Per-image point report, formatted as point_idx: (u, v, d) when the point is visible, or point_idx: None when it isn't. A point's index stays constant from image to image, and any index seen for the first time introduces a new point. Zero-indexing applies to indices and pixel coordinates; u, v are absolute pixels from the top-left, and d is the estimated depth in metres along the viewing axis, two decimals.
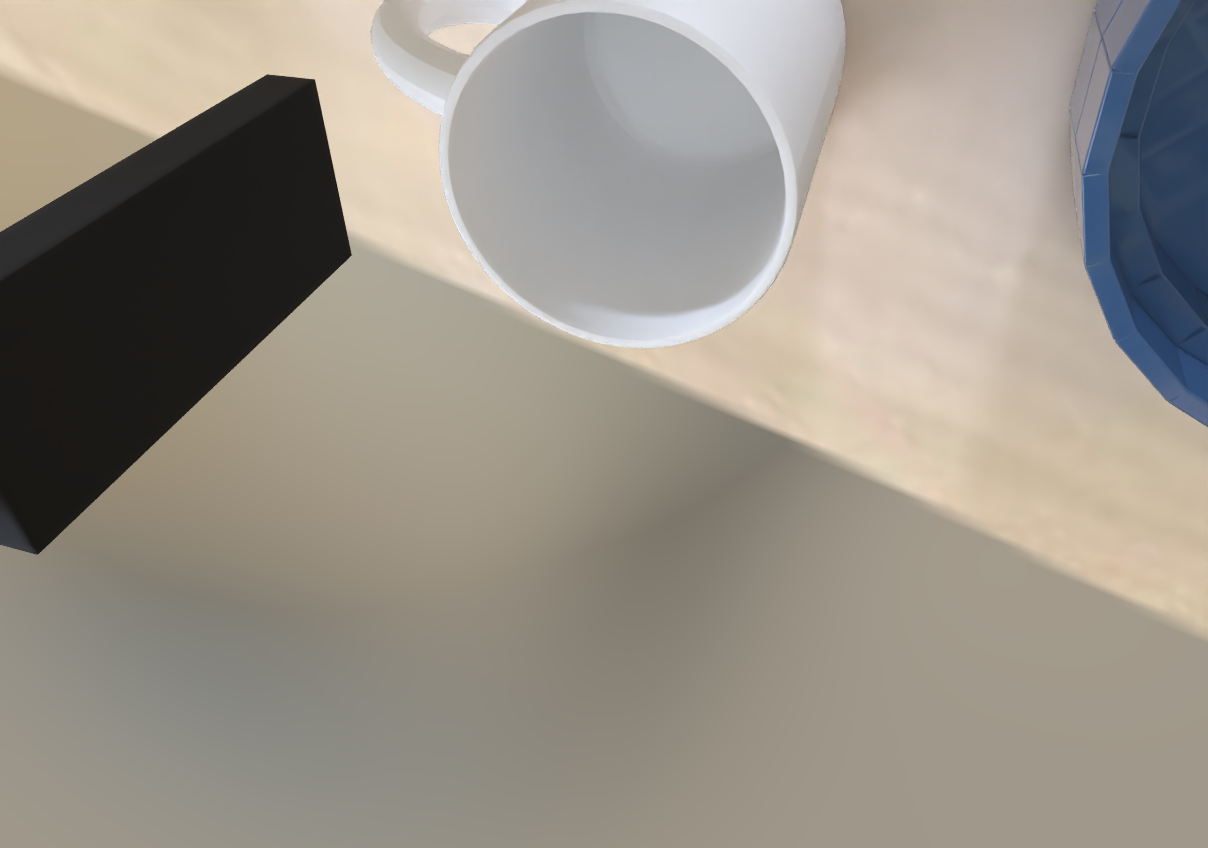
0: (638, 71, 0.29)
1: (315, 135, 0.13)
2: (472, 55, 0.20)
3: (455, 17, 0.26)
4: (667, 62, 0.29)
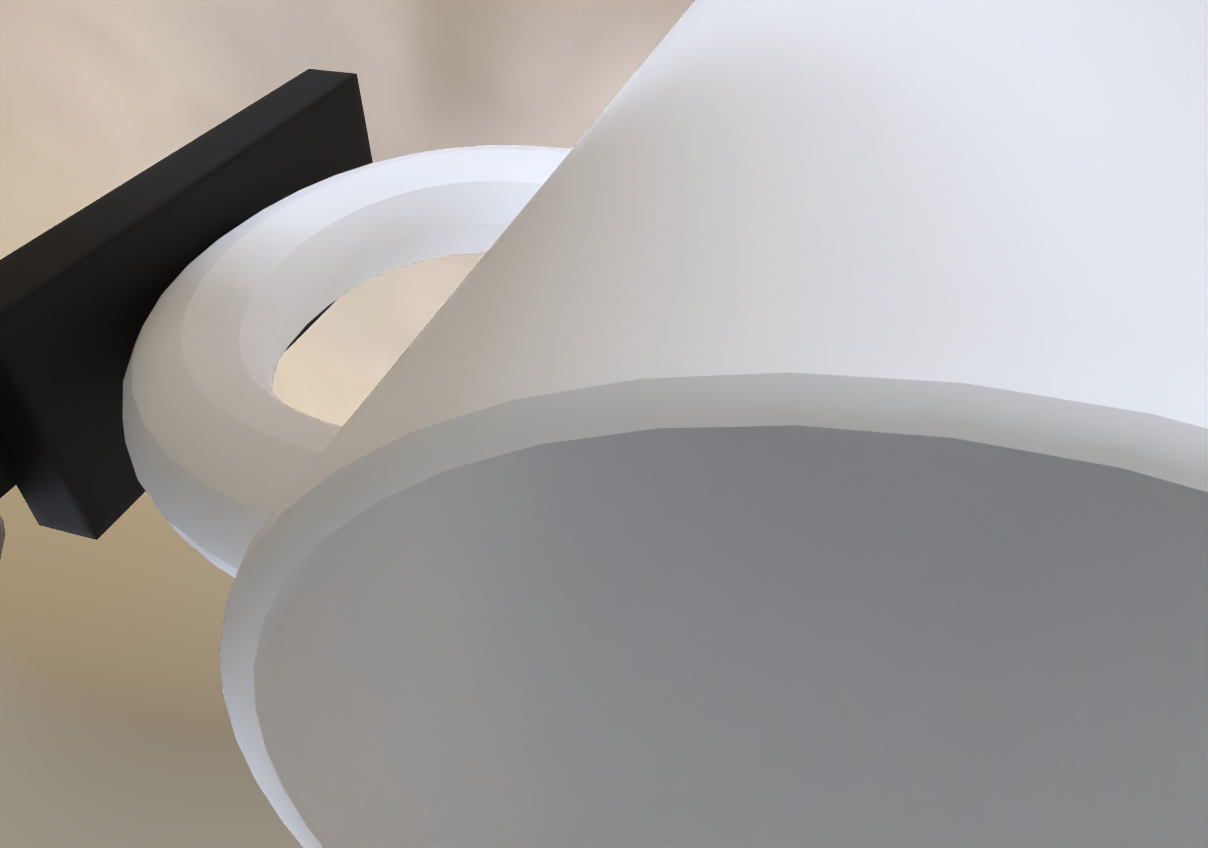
0: None
1: (356, 129, 0.13)
2: (242, 577, 0.05)
3: (371, 266, 0.11)
4: None
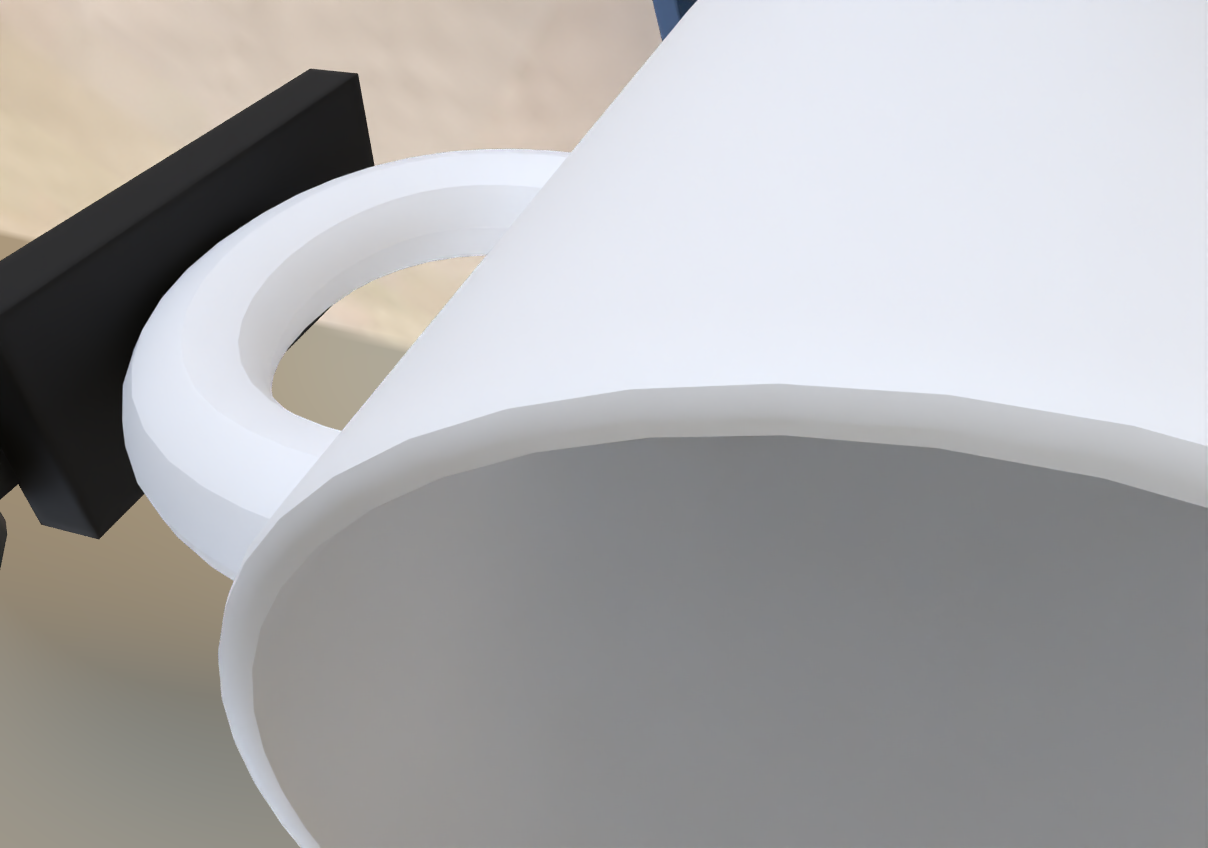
0: None
1: (356, 128, 0.13)
2: (240, 581, 0.05)
3: (370, 269, 0.11)
4: None
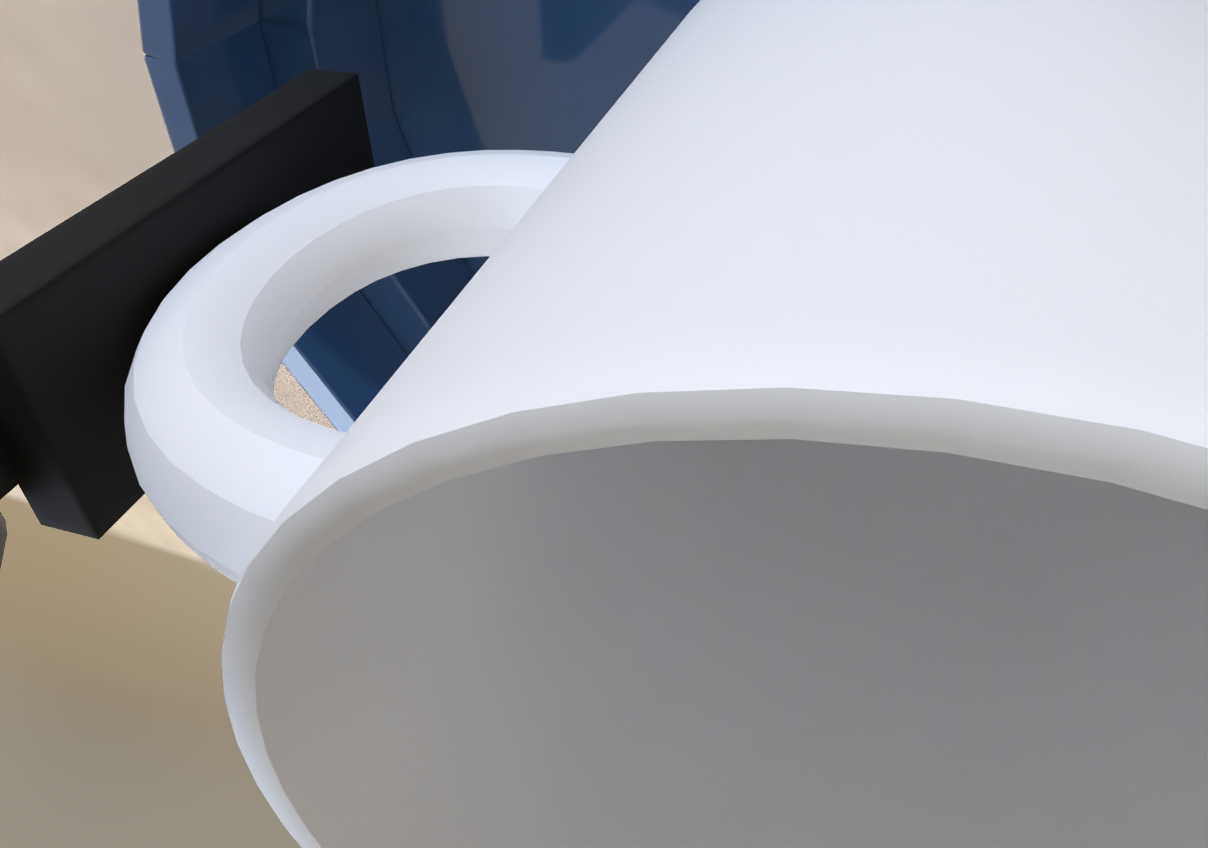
0: None
1: (357, 129, 0.13)
2: (244, 584, 0.05)
3: (372, 270, 0.11)
4: None
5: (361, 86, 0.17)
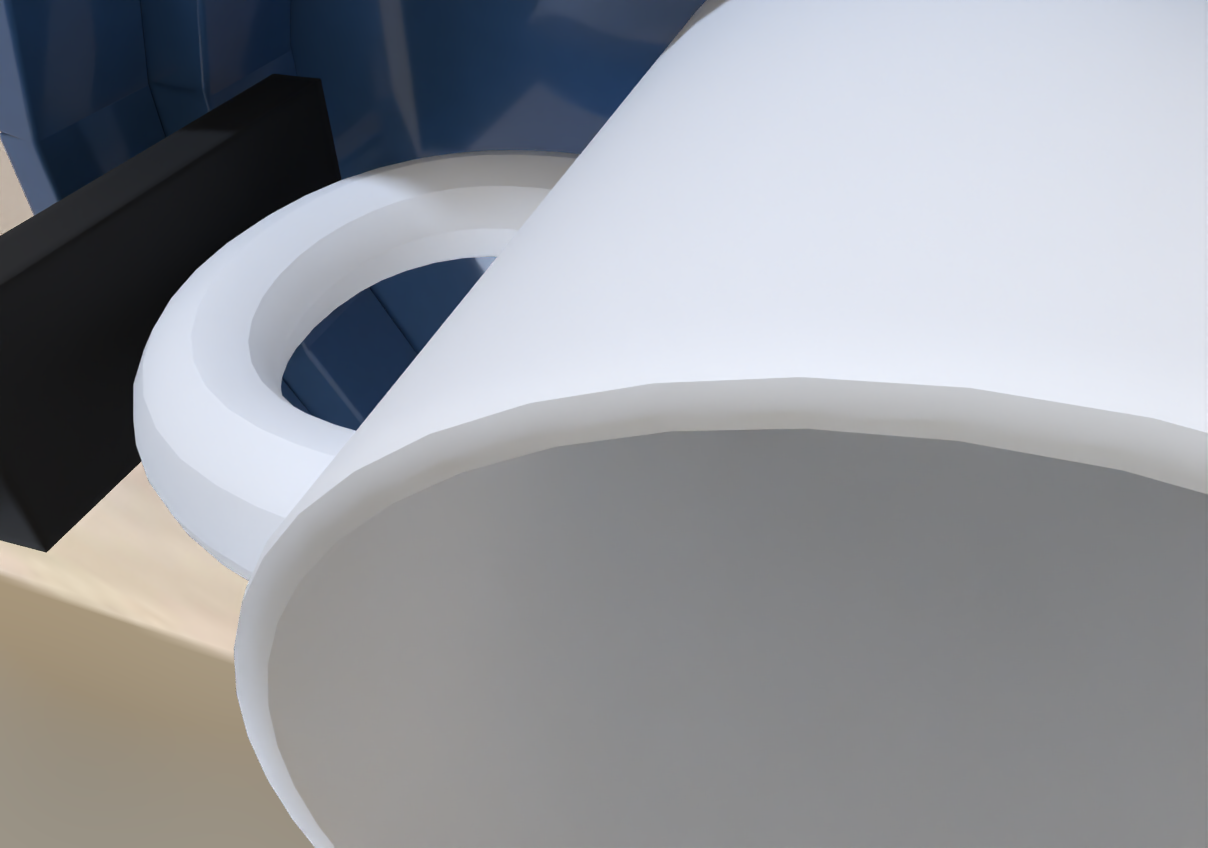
0: None
1: (321, 134, 0.13)
2: (258, 577, 0.05)
3: (377, 270, 0.11)
4: None
5: None
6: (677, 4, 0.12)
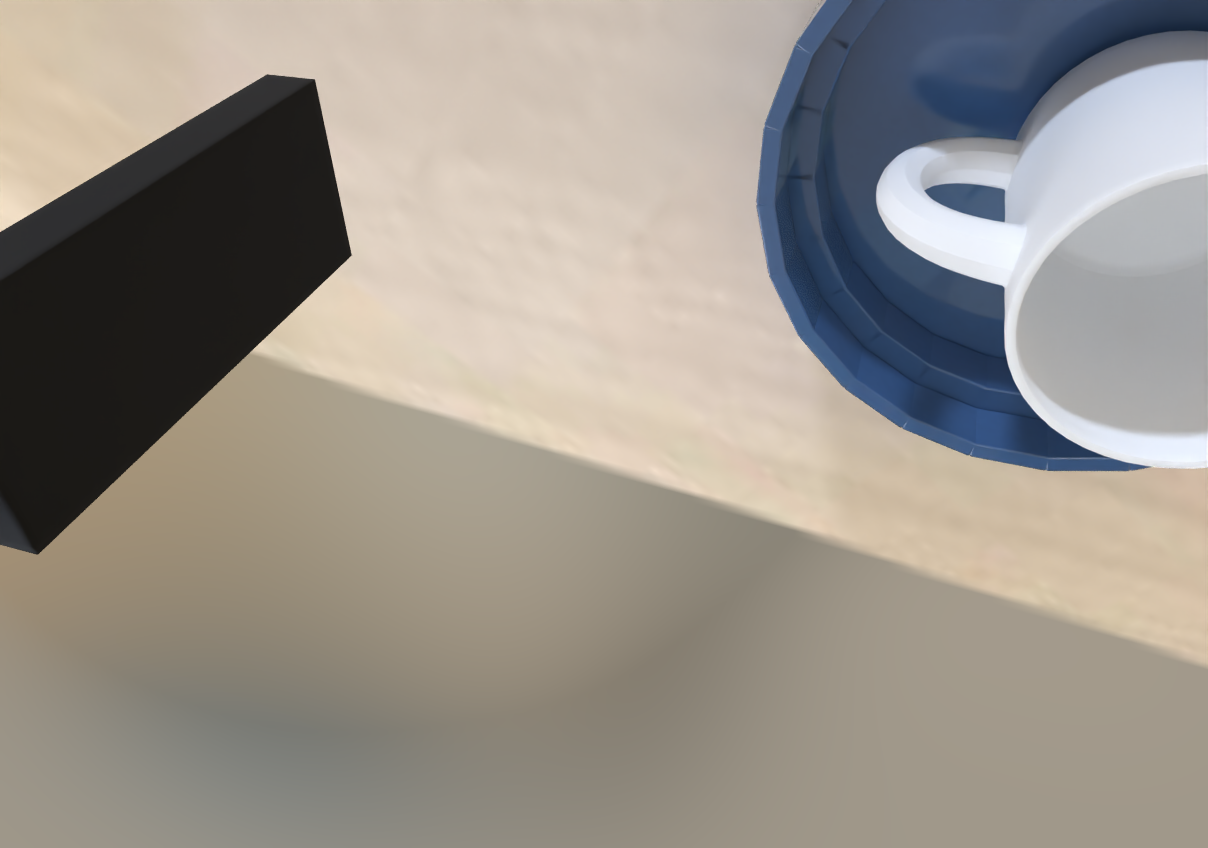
0: None
1: (315, 135, 0.13)
2: (1064, 227, 0.21)
3: (929, 184, 0.28)
4: None
5: (823, 139, 0.31)
6: (1041, 74, 0.29)
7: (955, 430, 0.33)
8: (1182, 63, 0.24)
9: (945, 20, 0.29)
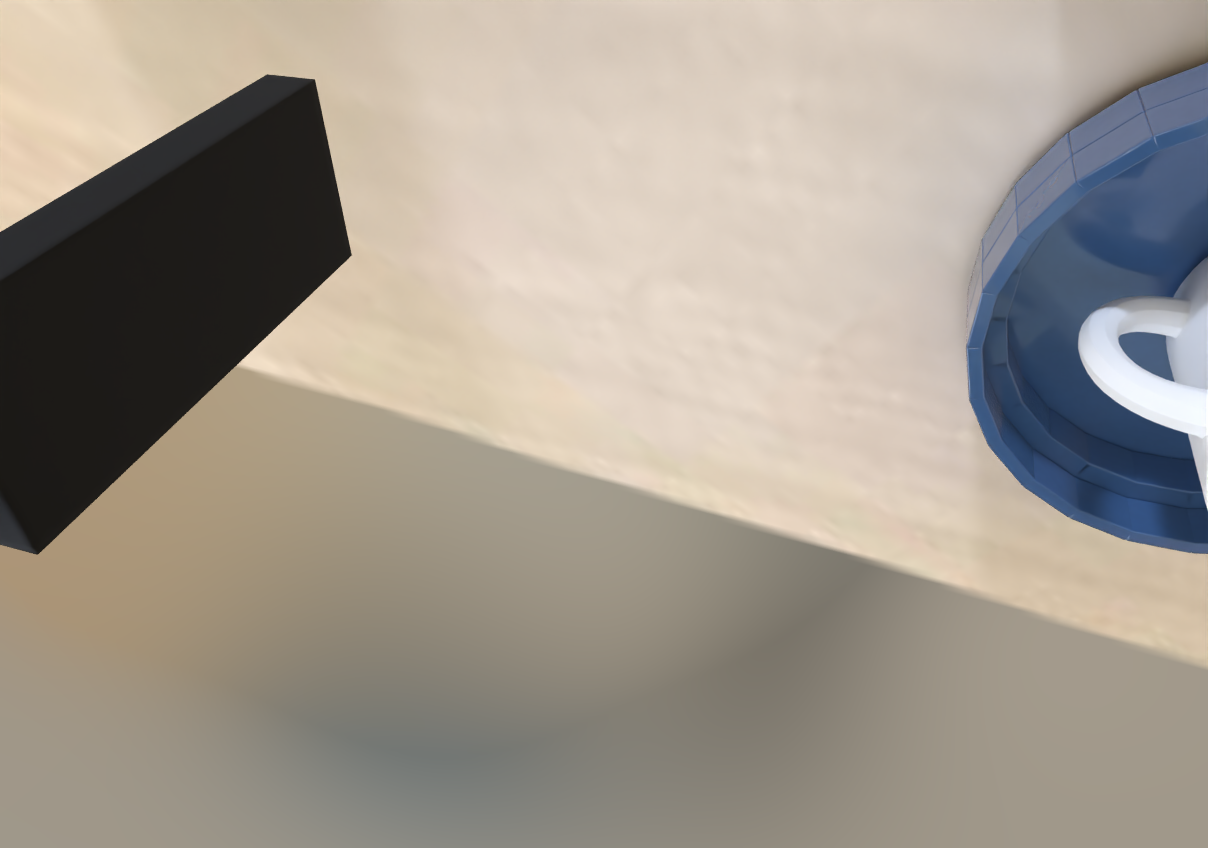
0: None
1: (315, 135, 0.13)
2: None
3: None
4: None
5: None
6: (1200, 243, 0.36)
7: (1114, 519, 0.40)
8: None
9: (1123, 200, 0.35)
